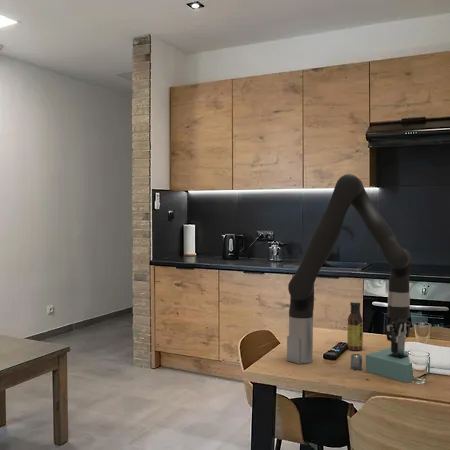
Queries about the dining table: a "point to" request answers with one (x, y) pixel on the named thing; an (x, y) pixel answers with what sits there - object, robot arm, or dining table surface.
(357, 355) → the short pin
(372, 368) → the hole block
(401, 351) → the long pin
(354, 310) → the sauce bottle
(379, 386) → the dining table surface
